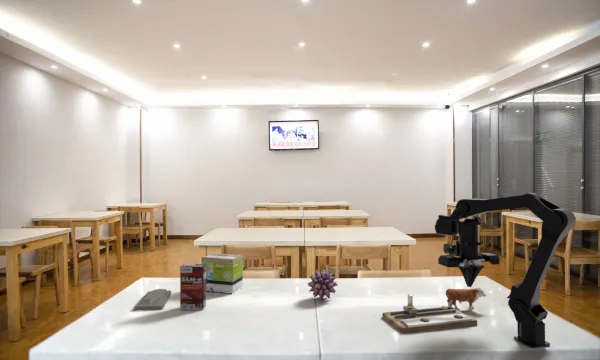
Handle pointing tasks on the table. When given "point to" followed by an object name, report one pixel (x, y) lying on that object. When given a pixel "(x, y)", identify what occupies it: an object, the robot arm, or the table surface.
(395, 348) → the table surface
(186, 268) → the supplement box
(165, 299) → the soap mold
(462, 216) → the robot arm
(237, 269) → the tea box
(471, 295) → the bull figurine
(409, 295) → the sliding handle
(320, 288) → the purple spiky ball
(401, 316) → the brown flat wooden board
